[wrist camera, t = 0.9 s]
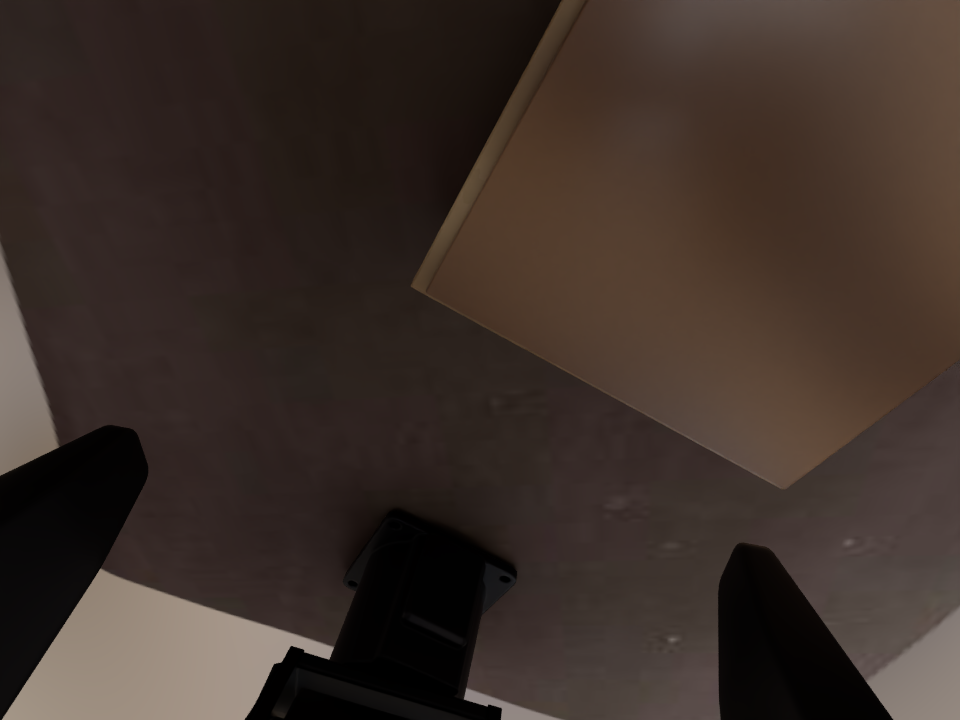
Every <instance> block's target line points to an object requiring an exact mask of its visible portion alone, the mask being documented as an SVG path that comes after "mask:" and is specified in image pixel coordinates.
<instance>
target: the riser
mask: <svg viewBox="0 0 960 720" xmlns="http://www.w3.org/2000/svg"><path fill="white" fill-rule="evenodd" d="M411 287H412V288H414V289H416V290H417V291H419V292H421V293H423V294H425V295H427V296H428V297H430V298H432V299H434V300H436V301H438V302H439V303H441V304H443V305H445V306H447V307H449V308H450V309H452V310H454V311H456V312H458V313H460V314H461V315H463V316H465V317H467V318H469V319H471V320H472V321H474V322H476V323H478V324H480V325H481V326H483V327H485V328H487V329H489V330H491V331H492V332H494V333H496V334H498V335H500V336H502V337H503V338H505V339H507V340H509V341H511V342H513V343H514V344H516V345H518V346H520V347H522V348H524V349H525V350H527V351H529V352H531V353H533V354H535V355H536V356H538V357H540V358H542V359H544V360H546V361H547V362H549V363H551V364H553V365H555V366H557V367H558V368H560V369H562V370H564V371H566V372H568V373H569V374H571V375H573V376H575V377H577V378H579V379H580V380H582V381H584V382H586V383H588V384H590V385H591V386H593V387H595V388H597V389H599V390H601V391H602V392H604V393H606V394H608V395H610V396H612V397H613V398H615V399H617V400H619V401H621V402H623V403H624V404H626V405H628V406H630V407H632V408H634V409H635V410H637V411H639V412H641V413H643V414H645V415H646V416H648V417H650V418H652V419H654V420H656V421H657V422H659V423H661V424H663V425H665V426H667V427H668V428H670V429H672V430H674V431H676V432H678V433H679V434H681V435H683V436H685V437H687V438H689V439H690V440H692V441H694V442H696V443H698V444H700V445H701V446H703V447H705V448H707V449H709V450H711V451H712V452H714V453H716V454H718V455H720V456H722V457H723V458H725V459H727V460H729V461H731V462H732V463H734V464H736V465H738V466H740V467H742V468H743V469H745V470H747V471H749V472H751V473H753V474H754V475H756V476H758V477H760V478H762V479H764V480H765V481H767V482H769V483H771V484H773V485H775V486H776V487H778V488H780V489H787V488H788V487H789V486H791V485H792V484H793V483H795V482H796V481H797V480H799V479H800V478H801V477H803V476H804V475H805V474H807V473H808V472H809V471H811V470H812V469H813V468H815V467H816V466H817V465H819V464H820V463H822V462H823V461H824V460H826V459H827V458H828V457H830V456H831V455H832V454H834V453H835V452H836V451H838V450H839V449H840V448H842V447H843V446H844V445H846V444H847V443H848V442H850V441H851V440H852V439H854V438H855V437H856V436H858V435H859V434H860V433H862V432H863V431H865V430H866V429H867V428H869V427H870V426H871V425H873V424H874V423H875V422H877V421H878V420H879V419H881V418H882V417H883V416H885V415H886V414H887V413H889V412H890V411H891V410H893V409H894V408H895V407H897V406H898V405H899V404H901V403H902V402H903V401H905V400H906V399H908V398H909V397H910V396H912V395H913V394H914V393H916V392H917V391H918V390H920V389H921V388H922V387H924V386H925V385H926V384H928V383H929V382H930V381H932V380H933V379H934V378H936V377H937V376H938V375H940V374H941V373H942V372H944V371H945V370H947V369H948V368H949V367H951V366H952V365H953V364H955V363H956V362H957V361H959V360H960V0H561V2H560V4H559V6H558V8H557V10H556V12H555V14H554V16H553V17H552V19H551V21H550V23H549V25H548V27H547V29H546V31H545V32H544V34H543V36H542V38H541V40H540V42H539V44H538V46H537V48H536V49H535V51H534V53H533V55H532V57H531V59H530V61H529V63H528V64H527V66H526V68H525V70H524V72H523V74H522V76H521V78H520V80H519V81H518V83H517V85H516V87H515V89H514V91H513V93H512V95H511V97H510V98H509V100H508V102H507V104H506V106H505V108H504V110H503V112H502V113H501V115H500V117H499V119H498V121H497V123H496V125H495V127H494V129H493V130H492V132H491V134H490V136H489V138H488V140H487V142H486V144H485V145H484V147H483V149H482V151H481V153H480V155H479V157H478V159H477V161H476V162H475V164H474V166H473V168H472V170H471V172H470V174H469V176H468V178H467V179H466V181H465V183H464V185H463V187H462V189H461V191H460V193H459V194H458V196H457V198H456V200H455V202H454V204H453V206H452V208H451V210H450V211H449V213H448V215H447V217H446V219H445V221H444V223H443V225H442V226H441V228H440V230H439V232H438V234H437V236H436V238H435V240H434V242H433V243H432V245H431V247H430V249H429V251H428V253H427V255H426V257H425V258H424V260H423V262H422V264H421V266H420V268H419V270H418V272H417V274H416V275H415V277H414V279H413V281H412V283H411Z"/></svg>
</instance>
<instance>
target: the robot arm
mask: <svg viewBox="0 0 960 720" xmlns="http://www.w3.org/2000/svg"><path fill="white" fill-rule="evenodd" d="M147 476H148V464H147V461H146V458H145V455H144V452H143V449H142V446H141V443H140V440H139V437H138V435H137V433H136V432H135V431H134V430H133V429H130V428H125V427H119V426H114V425H107V426H103V427H101V428H99V429H96V430H94V431H92V432H90V433H88V434H86V435H84V436H82V437H80V438H78V439H76V440H74V441H72V442H69V443H67V444H65V445H63V446H61V447H59V448H57V449H55V450H53V451H51V452H49V453H47V454H45V455H42V456H40V457H38V458H36V459H34V460H32V461H30V462H28V463H26V464H24V465H22V466H20V467H18V468H16V469H14V470H12V471H9V472H7V473H5V474H3V475H1V476H0V720H2V719H3V716H4V715H5V714H6V712H7V711H8V709H9V708H10V706H11V705H12V703H13V702H14V700H15V698H16V697H17V696H18V694H19V693H20V691H21V690H22V688H23V686H24V685H25V683H26V682H27V680H28V679H29V677H30V676H31V674H32V673H33V671H34V670H35V668H36V667H37V665H38V664H39V662H40V661H41V659H42V657H43V656H44V654H45V653H46V651H47V650H48V648H49V647H50V645H51V643H52V642H53V641H54V639H55V638H56V636H57V635H58V633H59V631H60V630H61V628H62V627H63V625H64V624H65V622H66V621H67V619H68V618H69V616H70V615H71V613H72V612H73V610H74V609H75V607H76V605H77V604H78V602H79V601H80V599H81V598H82V596H83V595H84V593H85V592H86V590H87V589H88V587H89V586H90V584H91V582H92V581H93V579H94V578H95V576H96V574H97V573H98V571H99V570H100V568H101V566H102V564H103V563H104V561H105V559H106V557H107V556H108V554H109V552H110V550H111V548H112V546H113V544H114V542H115V540H116V538H117V536H118V534H119V533H120V531H121V529H122V527H123V525H124V523H125V521H126V519H127V517H128V515H129V513H130V511H131V509H132V507H133V506H134V504H135V502H136V500H137V498H138V496H139V494H140V492H141V490H142V488H143V486H144V484H145V482H146V480H147ZM516 578H517V571H516V570H515V569H514V568H513V567H512V566H509V565H507V564H505V563H503V562H501V561H499V560H497V559H495V558H493V557H491V556H489V555H487V554H485V553H483V552H481V551H479V550H477V549H475V548H473V547H471V546H469V545H467V544H465V543H463V542H461V541H459V540H456V539H454V538H452V537H450V536H448V535H446V534H444V533H442V532H440V531H438V530H436V529H434V528H432V527H430V526H428V525H426V524H424V523H422V522H420V521H418V520H416V519H414V518H412V517H410V516H408V515H406V514H403V513H401V512H398V511H392V512H389V513H388V514H387V515H386V517H385V518H384V520H383V521H382V523H381V524H380V525H379V527H378V528H377V530H376V531H375V532H374V534H373V535H372V537H371V538H370V540H369V541H368V542H367V544H366V545H365V547H364V548H363V549H362V551H361V552H360V554H359V555H358V557H357V558H356V559H355V561H354V562H353V564H352V565H351V567H350V568H349V569H348V571H347V572H346V574H345V577H344V579H343V583H344V585H345V586H346V587H348V588H350V589H352V590H354V591H356V593H355V595H354V598H353V601H352V603H351V606H350V608H349V611H348V613H347V616H346V618H345V621H344V624H343V626H342V629H341V631H340V634H339V636H338V639H337V641H336V644H335V647H334V649H333V652H332V654H331V657H330V659H329V660H328V659H325V658H321V657H318V656H314V655H312V654H308V653H304V650H303V649H300V648H297V647H293V646H291V647H290V649H289V650H288V652H287V654H286V656H285V658H284V659H283V661H282V662H281V663H276V664H274V665H273V667H272V670H271V672H270V674H269V676H268V679H267V680H266V683H265V685H264V687H263V689H262V691H261V693H260V696H259V697H258V699H257V701H256V703H255V705H254V707H253V708H252V710H251V711H250V713H249V714H248V716H247V717H246V718H245V720H501V712H502V709H501V708H499V707H496V706H492V705H488V707H487V706H484V705H480V704H477V703H473V702H470V701H467V700H464V696H465V691H466V686H467V681H468V677H469V672H470V667H471V662H472V658H473V653H474V648H475V643H476V638H477V634H478V629H479V624H480V619H481V615H482V614H483V613H484V612H486V611H487V610H488V609H489V608H490V607H491V606H492V605H493V604H494V603H495V602H496V601H497V600H498V599H499V598H500V597H501V596H502V595H503V594H505V593H506V592H507V591H508V590H509V589H510V588H511V587H512V586H513V585H514V584H515V582H516ZM718 644H719V705H720V716H721V720H893V719H892V718H891V716H890V714H889V713H888V712H887V710H886V709H885V708H884V706H883V705H882V703H881V702H880V701H879V699H878V698H877V696H876V695H875V694H874V692H873V691H872V689H871V688H870V687H869V685H868V684H867V682H866V681H865V680H864V678H863V677H862V675H861V674H860V673H859V671H858V670H857V668H856V667H855V666H854V664H853V663H852V661H851V660H850V659H849V657H848V656H847V655H846V653H845V652H844V650H843V649H842V648H841V646H840V645H839V643H838V642H837V641H836V639H835V638H834V636H833V635H832V634H831V632H830V631H829V629H828V628H827V627H826V625H825V624H824V622H823V621H822V620H821V618H820V617H819V616H818V614H817V613H816V611H815V610H814V609H813V607H812V606H811V604H810V603H809V602H808V600H807V599H806V597H805V596H804V595H803V593H802V592H801V590H800V589H799V588H798V586H797V585H796V583H795V582H794V581H793V579H792V578H791V576H790V575H789V574H788V572H787V571H786V570H785V568H784V567H783V565H782V564H781V563H780V561H779V560H778V558H777V557H776V556H775V554H774V553H773V552H772V551H771V550H770V549H769V548H767V547H764V546H759V545H753V544H748V543H739V544H737V545H736V547H735V548H734V550H733V552H732V554H731V557H730V559H729V561H728V563H727V565H726V567H725V570H724V572H723V574H722V576H721V579H720V583H719V590H718Z"/></svg>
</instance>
